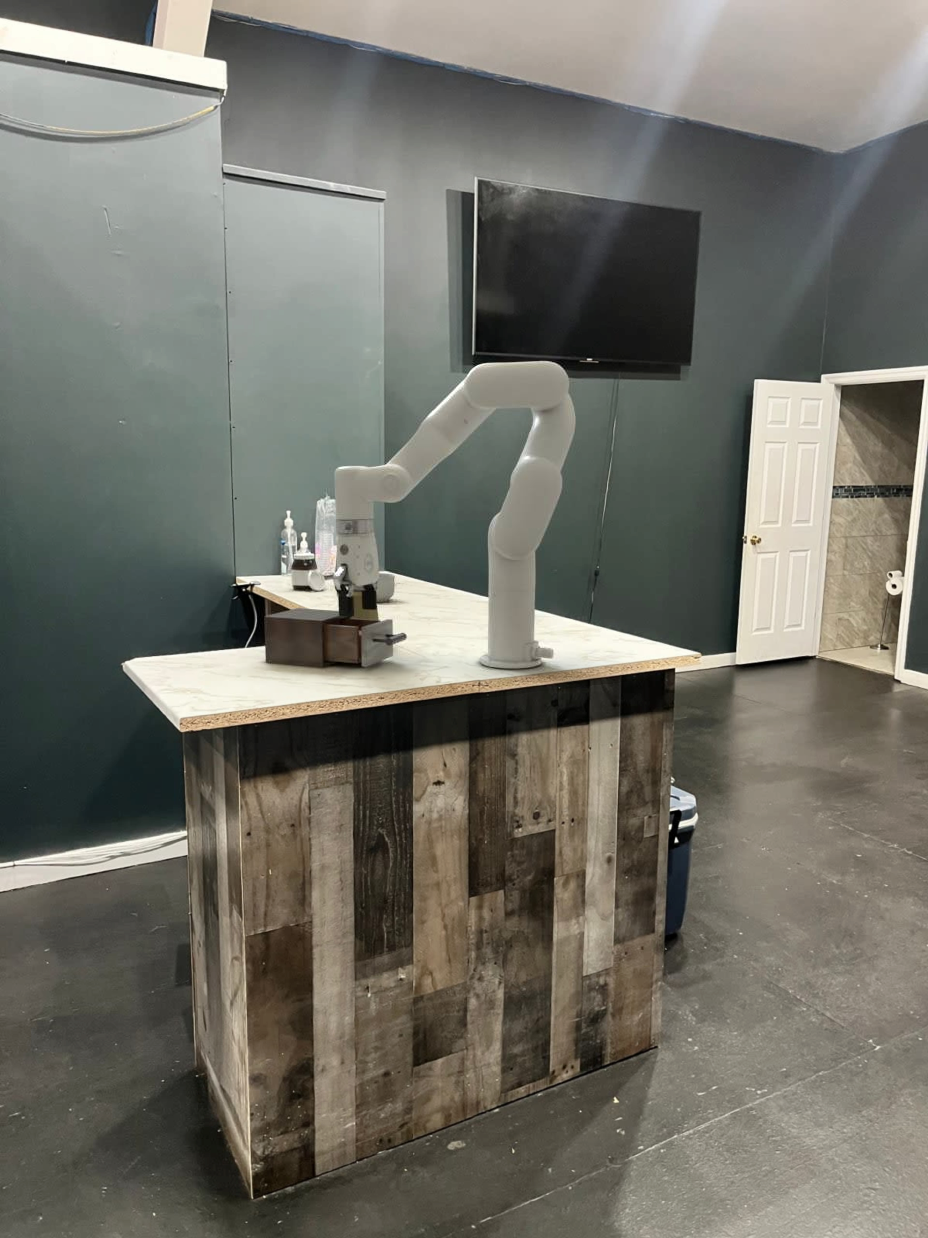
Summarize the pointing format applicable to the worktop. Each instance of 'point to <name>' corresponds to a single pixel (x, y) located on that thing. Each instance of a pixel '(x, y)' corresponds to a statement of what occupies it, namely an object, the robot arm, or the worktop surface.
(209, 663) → the worktop surface
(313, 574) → the spread jar
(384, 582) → the teacup
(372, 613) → the squeeze bottle
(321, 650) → the cabinet
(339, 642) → the drawer
